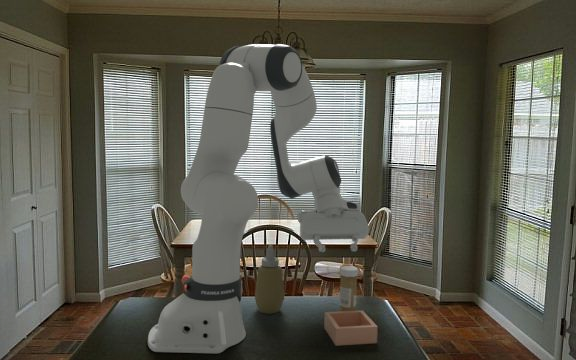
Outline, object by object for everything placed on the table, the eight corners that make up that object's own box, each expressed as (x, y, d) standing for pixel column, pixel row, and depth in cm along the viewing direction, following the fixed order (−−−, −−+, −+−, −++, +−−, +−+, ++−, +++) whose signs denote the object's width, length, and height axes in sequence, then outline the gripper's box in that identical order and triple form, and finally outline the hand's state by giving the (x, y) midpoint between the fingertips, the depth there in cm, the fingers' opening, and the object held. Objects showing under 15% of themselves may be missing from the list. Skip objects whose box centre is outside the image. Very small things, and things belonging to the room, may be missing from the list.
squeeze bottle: (248, 309, 128) (249, 244, 126) (271, 302, 133) (272, 240, 131) (266, 318, 122) (268, 251, 120) (289, 311, 127) (291, 246, 125)
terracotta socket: (335, 345, 107) (336, 328, 107) (324, 327, 117) (324, 312, 116) (376, 343, 109) (377, 326, 109) (362, 325, 119) (362, 310, 118)
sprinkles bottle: (359, 317, 124) (361, 268, 122) (346, 321, 121) (348, 271, 120) (348, 312, 127) (350, 264, 126) (335, 315, 125) (336, 266, 124)
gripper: (298, 204, 136) (304, 245, 127) (364, 204, 140) (375, 244, 131) (294, 216, 141) (300, 257, 132) (359, 216, 145) (369, 255, 136)
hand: (338, 250), depth 132 cm, fingers open, 8 cm apart
